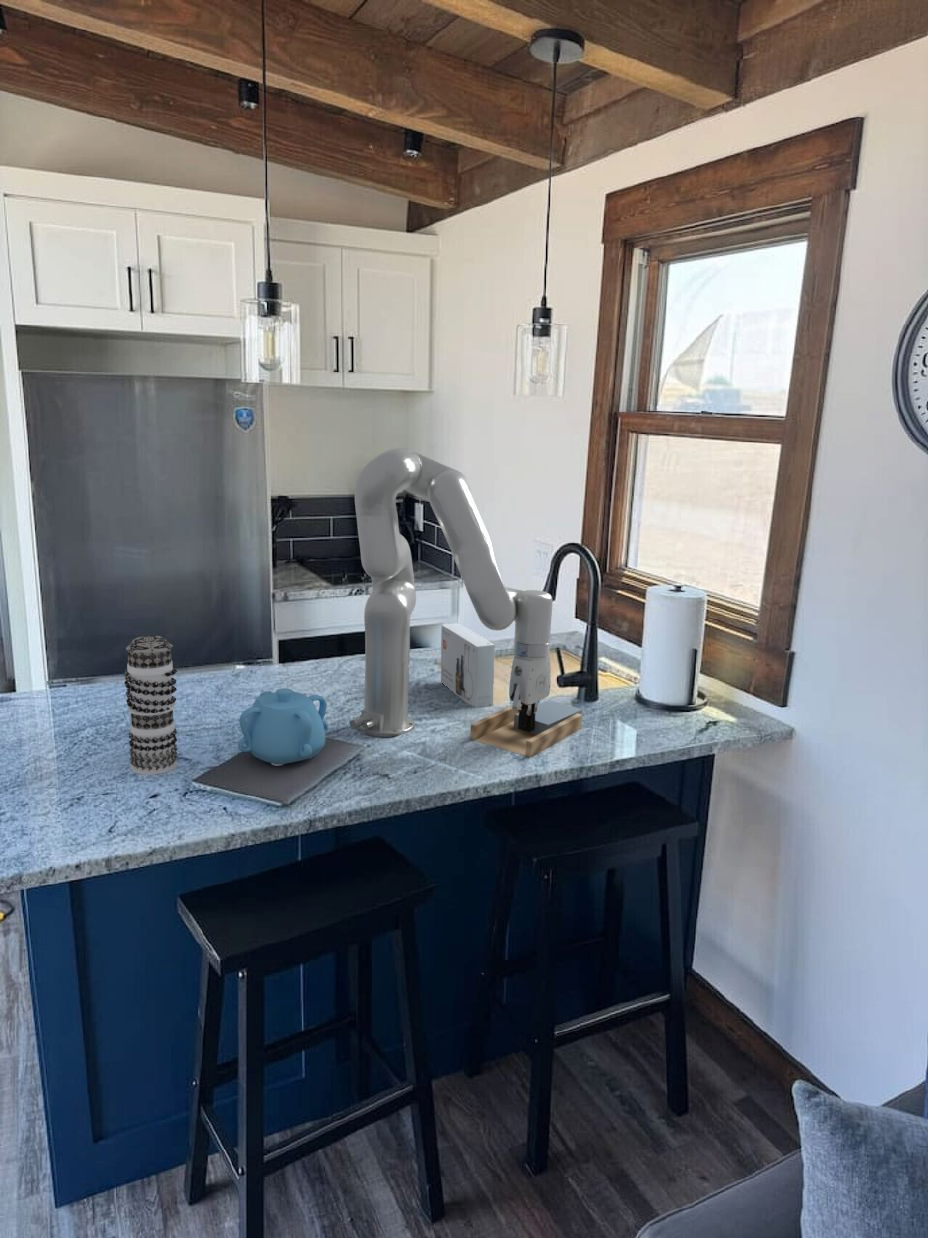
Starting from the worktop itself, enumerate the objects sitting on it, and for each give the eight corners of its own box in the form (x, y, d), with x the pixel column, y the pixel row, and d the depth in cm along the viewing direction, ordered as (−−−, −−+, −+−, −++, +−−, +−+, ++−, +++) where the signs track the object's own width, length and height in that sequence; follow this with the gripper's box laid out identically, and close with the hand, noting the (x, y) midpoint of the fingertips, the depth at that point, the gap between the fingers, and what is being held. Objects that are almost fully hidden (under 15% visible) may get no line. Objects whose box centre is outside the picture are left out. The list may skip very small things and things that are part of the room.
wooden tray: (530, 759, 172) (531, 742, 171) (470, 741, 180) (470, 724, 179) (581, 730, 189) (582, 714, 188) (524, 714, 198) (525, 699, 197)
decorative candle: (162, 752, 167) (157, 629, 161) (189, 766, 161) (185, 639, 155) (119, 765, 160) (112, 638, 154) (145, 780, 154) (139, 648, 148)
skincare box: (438, 683, 218) (440, 623, 214) (457, 681, 220) (460, 622, 216) (473, 710, 199) (476, 645, 195) (493, 708, 201) (497, 643, 198)
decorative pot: (227, 765, 162) (225, 698, 159) (263, 735, 178) (262, 673, 174) (307, 776, 159) (307, 708, 156) (336, 745, 175) (337, 682, 171)
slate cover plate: (547, 737, 183) (548, 724, 182) (513, 727, 188) (514, 714, 187) (581, 722, 193) (582, 709, 193) (548, 712, 199) (549, 700, 198)
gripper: (527, 659, 171) (522, 744, 176) (564, 645, 183) (558, 725, 187) (497, 652, 176) (492, 735, 180) (534, 639, 187) (529, 717, 192)
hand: (526, 729), depth 184 cm, fingers closed
